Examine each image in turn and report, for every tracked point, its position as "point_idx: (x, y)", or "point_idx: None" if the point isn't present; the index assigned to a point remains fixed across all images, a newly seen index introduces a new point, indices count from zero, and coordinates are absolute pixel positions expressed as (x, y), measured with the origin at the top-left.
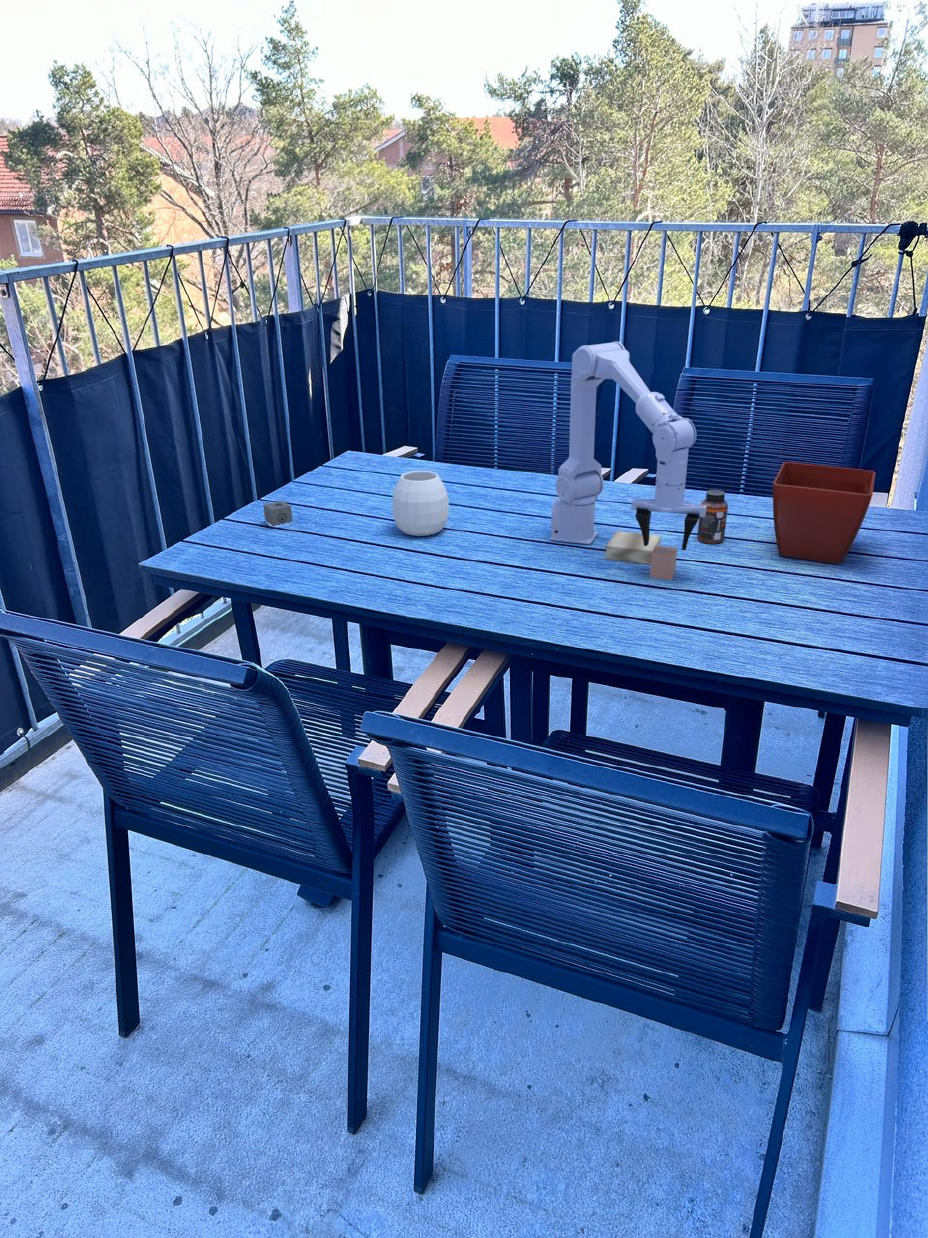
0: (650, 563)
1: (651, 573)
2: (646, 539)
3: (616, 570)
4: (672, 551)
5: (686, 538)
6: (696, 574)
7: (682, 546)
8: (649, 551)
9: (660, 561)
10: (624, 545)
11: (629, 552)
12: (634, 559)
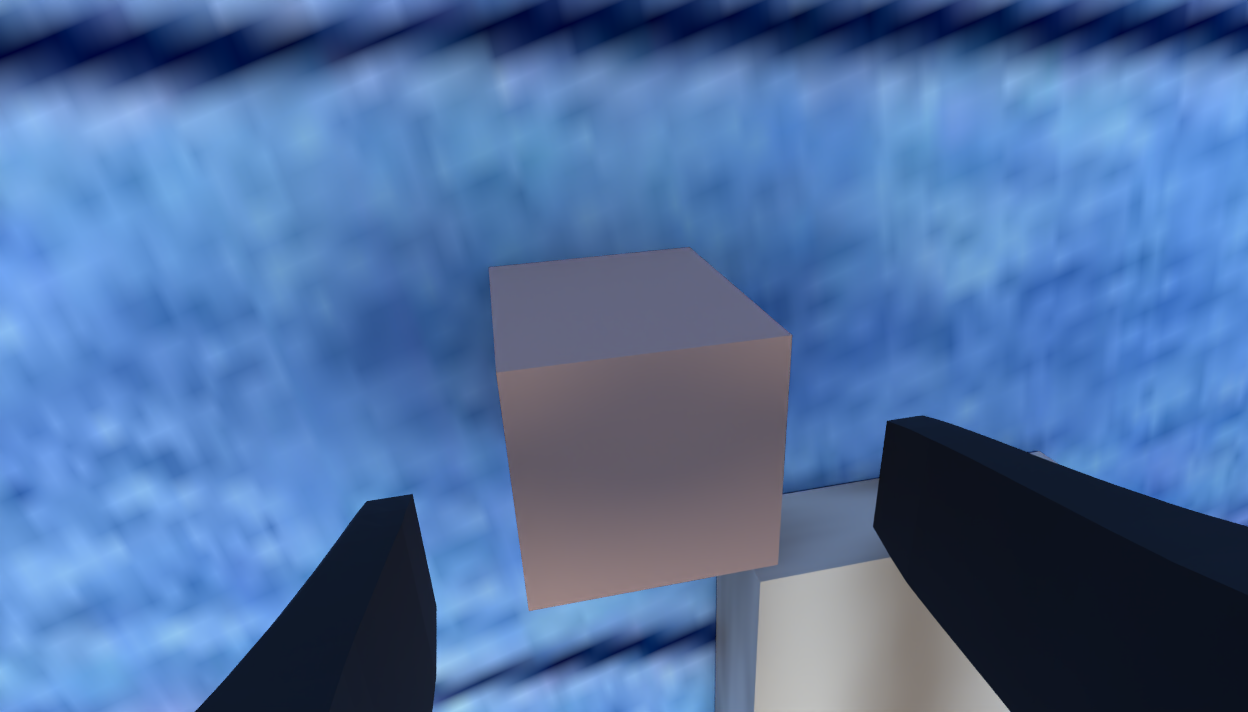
0: None
1: (688, 259)
2: (967, 451)
3: (962, 282)
4: (553, 487)
5: (296, 627)
6: (325, 481)
7: (396, 519)
8: (787, 572)
9: (645, 314)
10: None
11: None
12: (858, 497)
